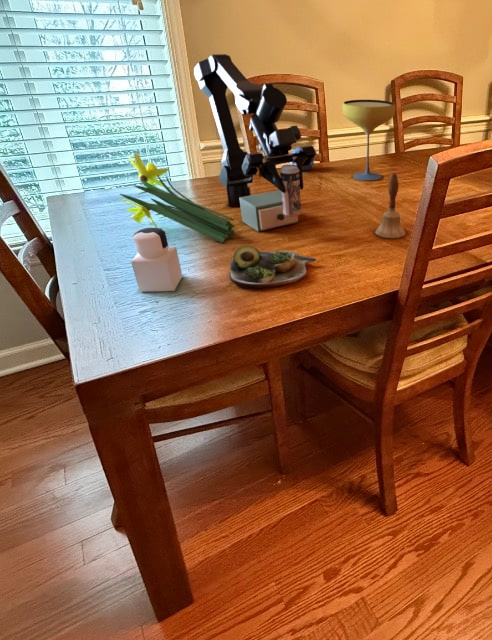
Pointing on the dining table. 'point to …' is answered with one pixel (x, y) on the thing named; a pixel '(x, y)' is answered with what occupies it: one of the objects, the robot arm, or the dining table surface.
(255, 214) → the drawer box
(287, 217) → the drawer
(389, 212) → the hand bell
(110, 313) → the dining table surface
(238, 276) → the avocado toast plate
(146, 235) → the pink block figurine
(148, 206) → the daffodil flowers
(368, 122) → the cocktail glass
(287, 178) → the beer can
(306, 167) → the blue mole toy
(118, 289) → the dining table surface
